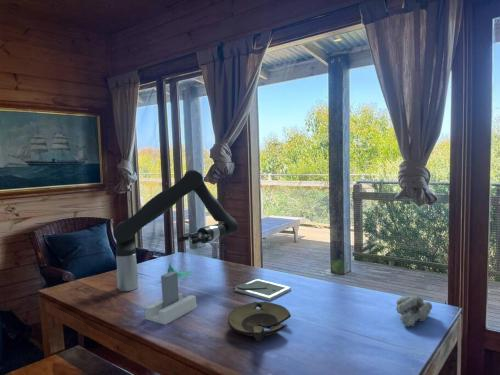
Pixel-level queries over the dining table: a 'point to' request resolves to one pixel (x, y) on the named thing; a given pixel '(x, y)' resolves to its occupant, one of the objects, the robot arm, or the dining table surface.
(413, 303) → the mineral
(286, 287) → the picture frame
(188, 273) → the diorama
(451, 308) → the dining table surface
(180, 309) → the rail
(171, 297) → the slate slat
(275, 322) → the oil lamp
